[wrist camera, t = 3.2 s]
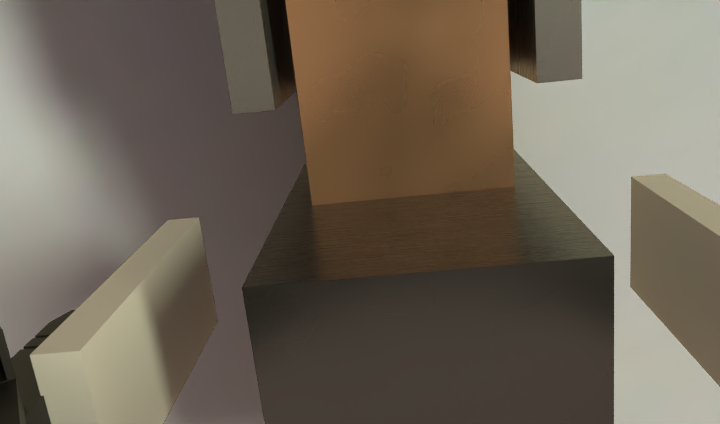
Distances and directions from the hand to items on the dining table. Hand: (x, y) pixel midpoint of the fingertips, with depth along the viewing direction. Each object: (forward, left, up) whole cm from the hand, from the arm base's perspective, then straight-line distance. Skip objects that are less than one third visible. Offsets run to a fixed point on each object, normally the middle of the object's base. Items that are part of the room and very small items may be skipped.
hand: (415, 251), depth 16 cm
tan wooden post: (-3, 0, -2) cm, 4 cm away
